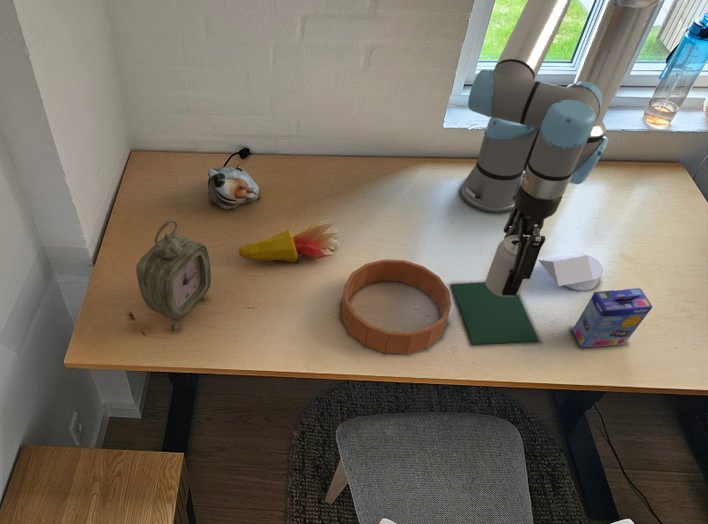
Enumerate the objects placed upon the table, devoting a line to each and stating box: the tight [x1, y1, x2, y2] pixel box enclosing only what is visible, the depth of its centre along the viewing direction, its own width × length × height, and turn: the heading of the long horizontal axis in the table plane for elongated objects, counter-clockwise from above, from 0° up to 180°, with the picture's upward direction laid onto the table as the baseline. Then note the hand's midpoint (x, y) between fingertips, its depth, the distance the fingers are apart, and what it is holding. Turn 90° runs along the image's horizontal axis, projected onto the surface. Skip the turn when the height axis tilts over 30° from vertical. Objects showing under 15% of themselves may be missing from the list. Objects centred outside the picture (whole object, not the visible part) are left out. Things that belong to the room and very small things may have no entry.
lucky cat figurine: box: [207, 164, 260, 211], centre depth 157 cm, size 15×12×14 cm
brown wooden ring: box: [341, 258, 452, 355], centre depth 132 cm, size 23×23×6 cm
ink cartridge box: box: [572, 287, 653, 348], centre depth 122 cm, size 10×6×14 cm, turn 95°
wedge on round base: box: [537, 252, 604, 291], centre depth 137 cm, size 9×7×13 cm
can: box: [484, 235, 527, 297], centre depth 123 cm, size 8×8×12 cm
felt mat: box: [450, 281, 539, 346], centre depth 133 cm, size 18×14×1 cm
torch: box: [238, 219, 342, 263], centre depth 144 cm, size 8×8×25 cm
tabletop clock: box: [135, 219, 212, 332], centre depth 127 cm, size 14×9×25 cm, turn 148°
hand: (505, 280), depth 126 cm, fingers closed on can, 7 cm apart
